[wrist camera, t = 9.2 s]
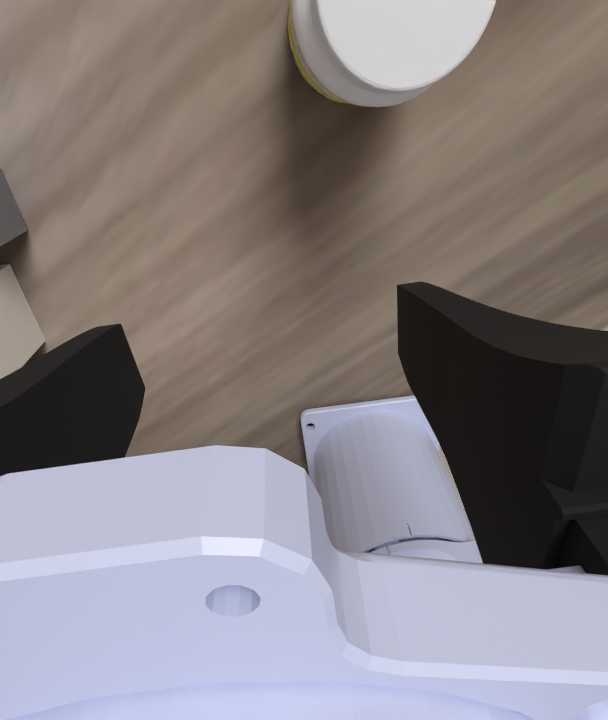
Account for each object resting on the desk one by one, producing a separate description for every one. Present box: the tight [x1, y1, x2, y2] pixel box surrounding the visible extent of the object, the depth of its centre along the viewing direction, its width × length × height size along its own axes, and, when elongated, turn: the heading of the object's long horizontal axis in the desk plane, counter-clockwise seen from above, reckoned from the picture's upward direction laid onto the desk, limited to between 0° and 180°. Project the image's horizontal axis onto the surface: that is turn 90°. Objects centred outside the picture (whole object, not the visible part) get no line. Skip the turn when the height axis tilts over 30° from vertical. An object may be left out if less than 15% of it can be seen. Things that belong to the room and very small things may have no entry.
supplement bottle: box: [287, 0, 496, 107], centre depth 13 cm, size 5×5×8 cm
